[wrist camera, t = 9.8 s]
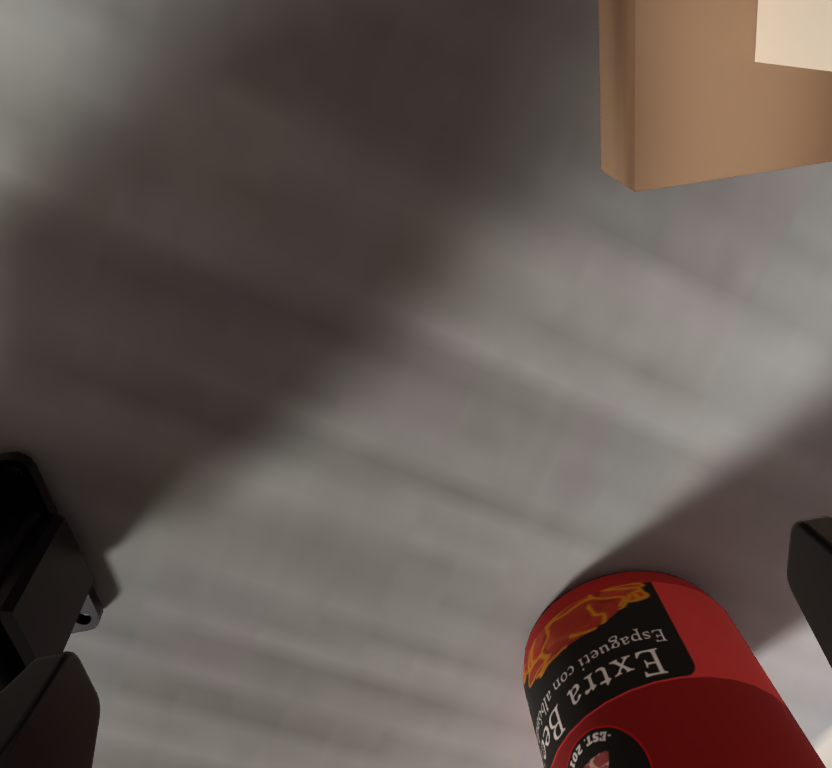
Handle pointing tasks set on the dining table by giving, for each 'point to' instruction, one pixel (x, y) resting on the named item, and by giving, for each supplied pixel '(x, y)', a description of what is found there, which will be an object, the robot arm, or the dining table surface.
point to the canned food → (653, 683)
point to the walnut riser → (701, 96)
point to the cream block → (795, 33)
